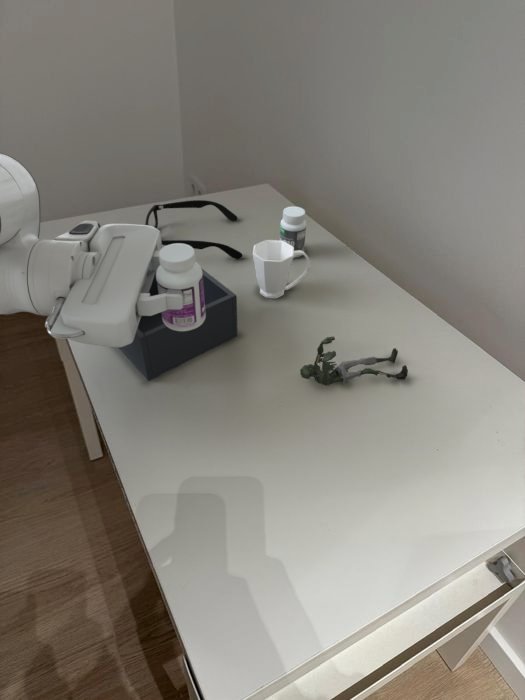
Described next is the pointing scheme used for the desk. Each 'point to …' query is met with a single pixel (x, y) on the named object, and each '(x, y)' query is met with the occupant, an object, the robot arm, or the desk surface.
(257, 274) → the cup
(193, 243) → the glasses
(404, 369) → the zombie figurine
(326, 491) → the desk surface
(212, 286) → the bin
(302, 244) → the pill bottle
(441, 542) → the desk surface
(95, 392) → the desk surface
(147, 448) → the desk surface
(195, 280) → the pill bottle
